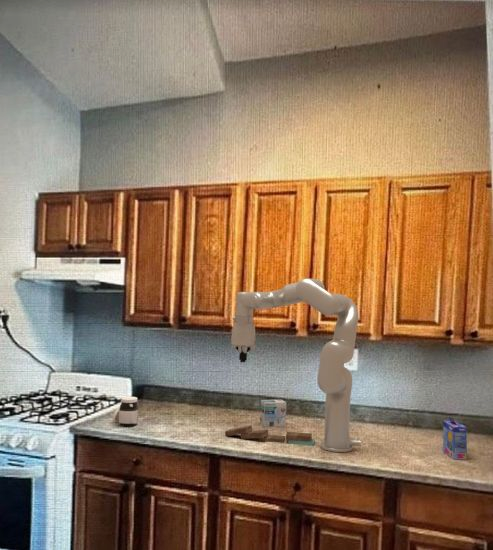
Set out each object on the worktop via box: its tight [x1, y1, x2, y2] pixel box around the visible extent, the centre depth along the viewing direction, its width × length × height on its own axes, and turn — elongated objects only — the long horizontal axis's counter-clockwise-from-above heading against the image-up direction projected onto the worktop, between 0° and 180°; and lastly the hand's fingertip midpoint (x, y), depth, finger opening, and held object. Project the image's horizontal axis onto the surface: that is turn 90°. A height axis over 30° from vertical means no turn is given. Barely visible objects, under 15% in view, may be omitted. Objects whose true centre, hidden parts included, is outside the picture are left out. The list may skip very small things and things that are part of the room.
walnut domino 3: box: [258, 434, 286, 444], centre depth 209 cm, size 2×5×10 cm
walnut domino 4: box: [285, 431, 313, 442], centre depth 207 cm, size 2×5×10 cm
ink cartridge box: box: [442, 416, 468, 461], centre depth 197 cm, size 10×6×14 cm, turn 2°
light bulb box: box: [259, 399, 287, 428], centre depth 234 cm, size 11×7×11 cm, turn 105°
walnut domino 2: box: [240, 429, 270, 440], centre depth 210 cm, size 2×5×10 cm
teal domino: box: [287, 438, 316, 447], centre depth 207 cm, size 2×5×10 cm
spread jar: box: [112, 396, 139, 428], centre depth 227 cm, size 12×11×12 cm
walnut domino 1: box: [224, 425, 253, 437], centre depth 213 cm, size 2×5×10 cm
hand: (242, 361), depth 226 cm, fingers closed
